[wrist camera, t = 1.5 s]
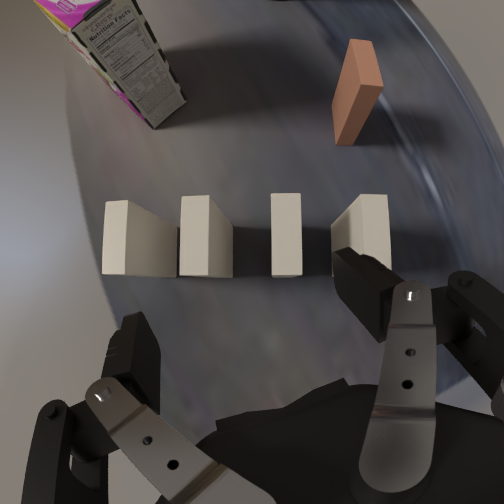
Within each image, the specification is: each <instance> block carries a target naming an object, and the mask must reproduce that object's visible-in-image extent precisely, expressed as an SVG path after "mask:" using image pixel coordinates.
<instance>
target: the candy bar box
mask: <svg viewBox="0 0 504 504" xmlns="http://www.w3.org/2000/svg"><path fill="white" fill-rule="evenodd" d="M33 1H34V2H35V3H36V4H37V5H38V6H39V8H40V9H41V10H42V11H43V12H44V13H45V15H46V16H47V17H48V18H49V19H50V21H51V22H52V23H53V24H54V25H55V26H56V28H57V29H58V30H59V31H60V32H61V33H62V34H63V35H64V37H65V38H66V39H67V40H68V41H69V42H70V44H71V45H72V46H73V47H74V48H75V49H76V50H77V52H78V53H79V54H80V55H81V56H82V57H83V58H84V59H85V61H86V62H87V63H88V64H89V65H90V66H91V67H92V68H93V69H94V71H95V72H96V73H97V74H98V75H99V76H100V77H101V78H102V79H103V81H104V82H105V83H106V84H107V85H108V86H109V87H110V88H111V89H112V90H113V91H114V92H115V93H116V94H117V95H118V96H119V97H120V98H121V99H122V100H123V101H124V102H125V103H126V104H127V105H128V106H129V107H130V108H131V109H132V110H133V111H134V112H135V113H136V114H137V115H138V116H139V117H140V118H141V119H142V120H143V121H144V122H146V123H147V124H148V125H149V126H150V127H151V128H152V129H153V130H154V129H155V128H157V127H158V126H159V125H160V124H162V123H163V122H164V121H165V120H166V119H167V118H168V117H169V116H170V115H171V114H172V113H174V112H175V111H176V110H177V109H179V108H180V107H181V106H182V105H183V104H185V103H186V102H187V101H188V100H187V99H186V97H185V95H184V93H183V91H182V89H181V87H180V85H179V83H178V81H177V79H176V77H175V75H174V73H173V71H172V69H171V67H170V65H169V63H168V61H167V59H166V58H165V56H164V54H163V52H162V50H161V48H160V46H159V44H158V42H157V40H156V38H155V36H154V34H153V32H152V30H151V28H150V26H149V24H148V22H147V21H146V19H145V17H144V15H143V13H142V11H141V10H140V8H139V6H138V4H137V2H136V0H33Z"/></svg>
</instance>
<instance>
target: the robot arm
mask: <svg viewBox="0 0 504 504" xmlns="http://www.w3.org/2000/svg"><path fill="white" fill-rule="evenodd" d="M331 258H332V266H333V275H334V283H335V288H336V291H337V294H338V296H339V297H340V299H341V300H342V301H343V302H344V303H345V304H346V306H347V307H348V308H349V309H350V310H351V311H352V312H353V314H354V315H355V316H356V317H357V318H358V319H359V321H360V322H361V323H362V324H363V325H364V326H365V328H366V329H367V330H368V331H369V332H370V333H371V335H372V336H373V337H374V338H375V339H376V341H377V342H378V343H381V342H383V341H385V340H386V344H385V351H384V357H383V363H382V369H381V374H380V379H379V385H371V384H359V385H351V386H349V385H348V384H347V382H346V381H345V379H344V378H342V379H339V380H337V381H334V382H332V383H329V384H327V385H324V386H322V387H319V388H317V389H314V390H312V391H311V392H309V393H307V394H306V395H304V396H303V397H301V398H299V399H298V400H296V401H294V402H293V403H291V404H289V405H288V406H286V407H283V408H279V409H271V410H262V411H251V412H245V413H242V414H238V415H235V416H231V417H227V418H224V419H220V420H216V426H217V430H216V431H214V432H212V433H211V434H209V435H208V436H206V437H205V438H203V439H202V440H201V441H200V442H199V443H198V444H196V445H195V446H194V445H193V444H192V443H191V442H189V441H188V440H187V439H185V438H184V437H183V436H182V435H181V434H179V433H178V432H177V431H176V430H174V429H173V428H172V427H171V426H170V425H169V424H167V423H166V422H165V421H164V420H163V419H162V418H160V417H159V416H158V415H160V364H161V352H160V347H159V344H158V342H157V339H156V337H155V336H154V334H153V332H152V330H151V328H150V326H149V324H148V322H147V320H146V318H145V316H144V314H143V313H142V312H137V313H133V314H130V315H126V316H124V317H123V321H122V325H121V330H117V331H116V332H115V333H114V335H113V336H112V337H111V339H110V342H109V345H108V350H107V353H106V358H105V362H104V366H103V370H102V375H101V379H99V380H97V381H95V382H94V383H93V384H92V385H91V386H90V387H89V388H88V389H87V392H86V394H85V400H84V401H82V402H80V403H78V404H75V405H73V406H71V407H68V406H67V404H66V403H65V402H64V401H62V400H58V399H57V400H52V401H50V402H48V403H47V404H46V405H44V406H43V408H42V409H41V410H40V412H39V414H38V418H37V421H36V425H35V430H34V434H33V438H32V442H31V447H30V452H29V457H28V462H27V467H26V473H25V479H24V486H23V493H22V501H21V504H109V503H108V454H109V453H111V452H113V451H116V450H118V449H121V450H122V452H123V453H124V454H125V455H126V456H127V457H128V459H129V460H130V461H131V462H132V463H133V464H134V465H135V467H136V468H137V469H138V470H139V471H140V472H141V473H142V474H143V475H144V476H145V477H146V478H147V480H148V481H149V482H150V483H151V484H152V485H153V486H154V487H155V488H156V489H157V490H158V491H159V492H160V493H161V494H162V495H161V496H160V498H159V499H158V501H157V502H156V503H155V504H504V294H503V293H502V292H500V291H499V290H498V289H496V288H495V287H494V286H492V285H491V284H490V283H488V282H487V281H485V280H484V279H483V278H481V277H480V276H479V275H477V274H476V273H473V272H470V271H456V272H454V273H452V274H451V275H450V276H449V278H448V286H444V287H439V288H434V289H430V287H429V286H428V285H427V284H425V283H423V282H420V281H415V280H409V281H404V280H403V279H402V278H400V277H399V276H398V275H396V274H395V273H394V272H393V271H391V270H390V269H389V268H387V267H386V266H385V265H384V264H381V262H380V261H378V260H377V259H376V258H374V257H372V256H369V255H366V254H361V255H359V254H358V253H357V252H356V251H354V250H353V249H352V248H350V247H346V248H343V249H340V250H337V251H334V252H332V254H331ZM475 321H476V322H477V323H478V324H479V325H481V326H482V327H483V329H484V330H485V333H486V337H485V336H484V335H483V334H482V333H481V332H480V331H479V330H478V329H476V328H475V327H474V323H475ZM438 344H443V345H444V346H445V347H446V348H447V349H448V350H449V351H450V352H451V353H452V355H453V356H454V357H455V358H456V359H457V360H458V361H459V362H460V364H461V365H462V366H463V367H464V368H465V369H466V370H467V372H468V373H469V374H470V375H471V376H472V377H473V378H474V380H475V381H476V382H477V383H478V384H479V385H480V387H481V388H482V389H483V390H484V391H485V393H486V394H487V395H488V396H489V397H490V399H491V400H492V401H491V410H492V413H493V415H494V416H491V415H487V414H483V413H478V412H474V411H470V410H466V409H462V408H458V407H454V406H450V405H446V404H442V403H439V402H435V396H436V345H438ZM70 454H71V455H72V456H73V457H72V467H71V470H70V466H69V461H70Z"/></svg>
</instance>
